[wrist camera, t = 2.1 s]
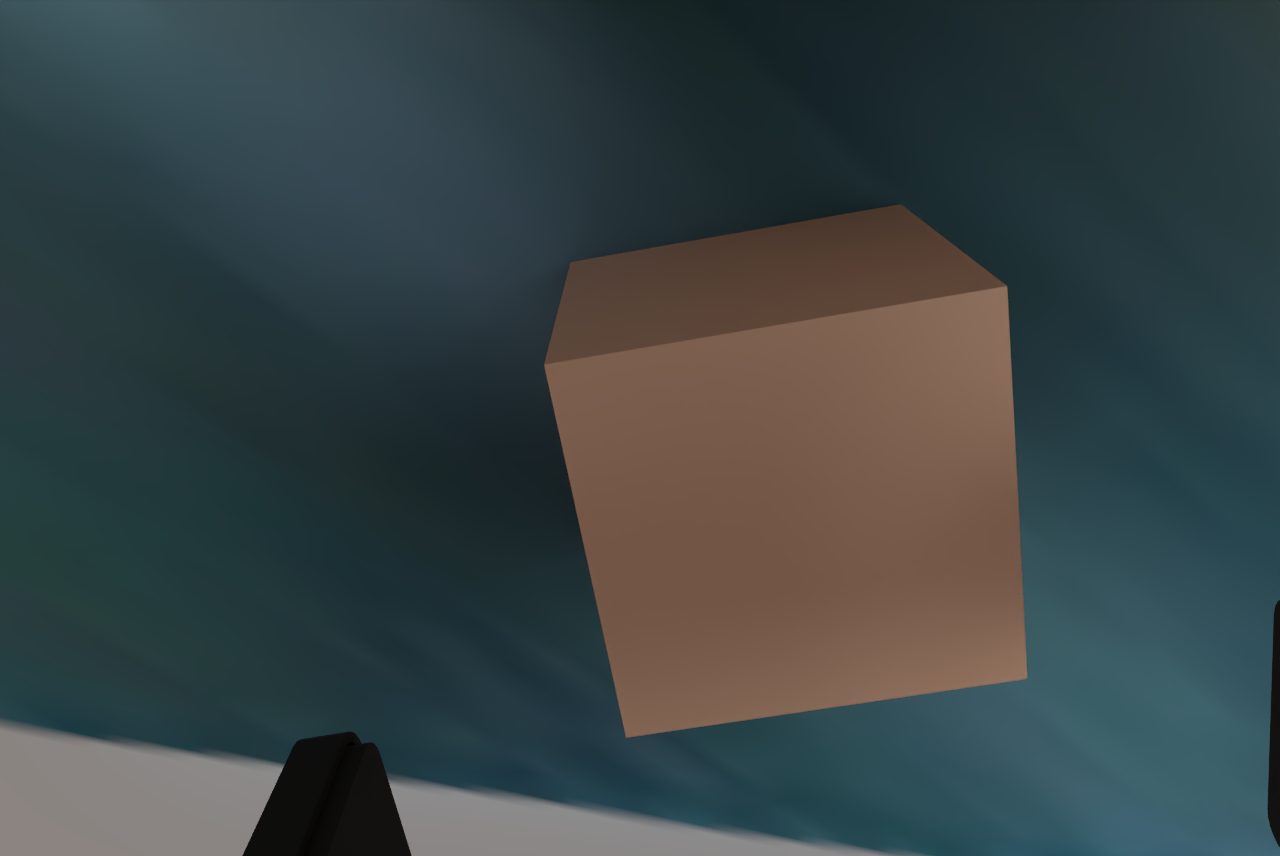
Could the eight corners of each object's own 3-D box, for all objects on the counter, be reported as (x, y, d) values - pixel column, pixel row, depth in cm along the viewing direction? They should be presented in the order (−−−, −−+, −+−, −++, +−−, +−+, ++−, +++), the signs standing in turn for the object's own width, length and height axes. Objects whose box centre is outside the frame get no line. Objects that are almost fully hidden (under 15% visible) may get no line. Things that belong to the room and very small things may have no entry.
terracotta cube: (900, 203, 19) (1007, 286, 14) (925, 502, 21) (1027, 678, 16) (570, 261, 20) (544, 365, 14) (629, 548, 22) (626, 738, 16)
